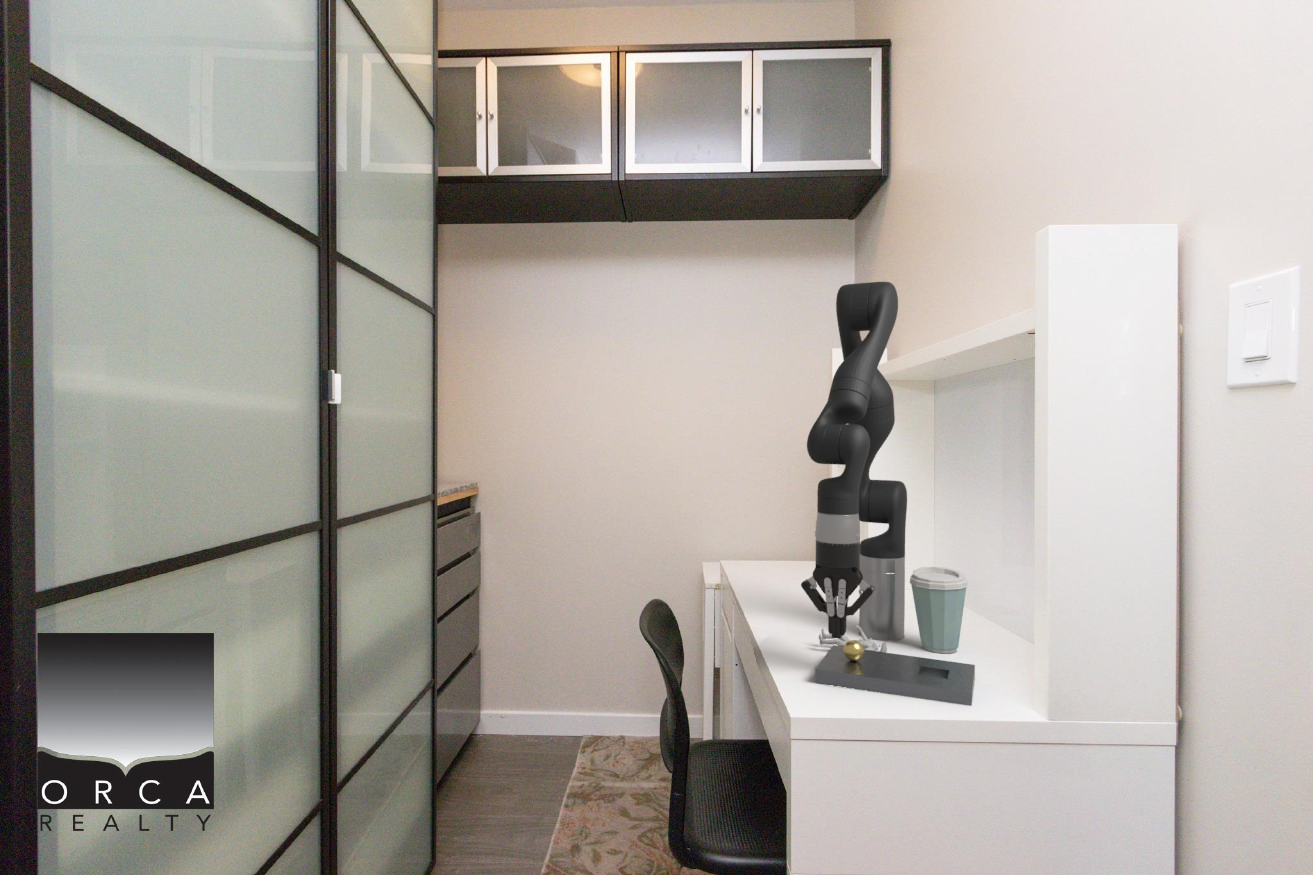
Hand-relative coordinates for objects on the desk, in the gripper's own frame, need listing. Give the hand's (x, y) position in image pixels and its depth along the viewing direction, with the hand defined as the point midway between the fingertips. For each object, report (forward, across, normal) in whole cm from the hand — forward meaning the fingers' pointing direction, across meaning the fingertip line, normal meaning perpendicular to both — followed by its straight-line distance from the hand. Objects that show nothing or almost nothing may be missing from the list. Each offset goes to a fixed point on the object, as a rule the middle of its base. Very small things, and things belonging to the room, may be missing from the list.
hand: (837, 636), depth 124 cm
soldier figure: (+5, +6, -12) cm, 14 cm away
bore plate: (+6, -10, 0) cm, 12 cm away
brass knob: (+2, -3, 0) cm, 4 cm away
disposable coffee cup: (+6, -15, -22) cm, 27 cm away
